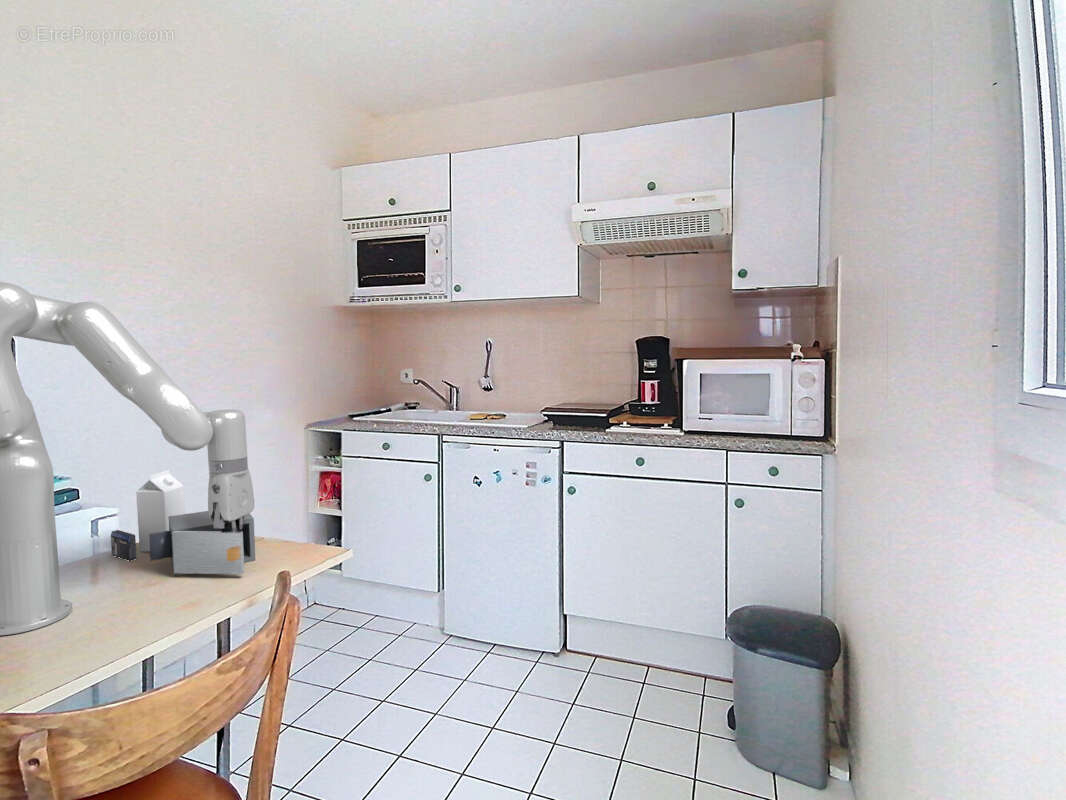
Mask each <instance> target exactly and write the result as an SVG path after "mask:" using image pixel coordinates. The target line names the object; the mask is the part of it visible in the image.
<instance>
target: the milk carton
mask: <svg viewBox="0 0 1066 800" xmlns="http://www.w3.org/2000/svg"><path fill="white" fill-rule="evenodd" d="M170 473H171V471H170V470H169V469H167V470H164V471H159V472H157V473H153V474H150V475H149V476H148V481H146V482H145V483H144V484H143V485H142V486H140V488H139V489H138V490H137V491H136V509H137V525H138V526H137V527H138V530H137V531H138V543H139V547H138V548H139V552H147V553H148V552H149V553H150V542H149V534H150V533H157V532H164V531H169V516H175V515H182V514H186V513H185V492H184V490H185V489H184V484H182V482H180V481H179V480H177V479H176V478H175V477H174V476H173V475H171V474H170Z"/></svg>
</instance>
